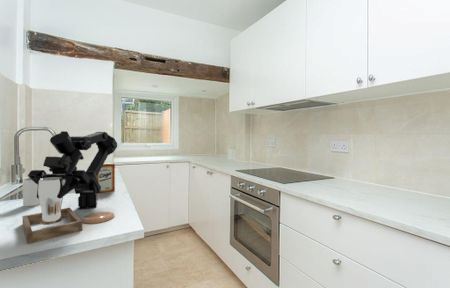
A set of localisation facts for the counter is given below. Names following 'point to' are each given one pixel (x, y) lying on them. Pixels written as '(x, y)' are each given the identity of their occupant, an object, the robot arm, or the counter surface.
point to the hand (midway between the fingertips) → (48, 198)
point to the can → (30, 193)
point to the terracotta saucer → (97, 217)
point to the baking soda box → (107, 178)
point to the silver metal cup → (50, 199)
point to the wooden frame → (51, 231)
